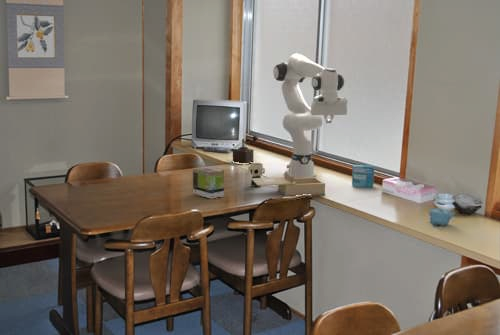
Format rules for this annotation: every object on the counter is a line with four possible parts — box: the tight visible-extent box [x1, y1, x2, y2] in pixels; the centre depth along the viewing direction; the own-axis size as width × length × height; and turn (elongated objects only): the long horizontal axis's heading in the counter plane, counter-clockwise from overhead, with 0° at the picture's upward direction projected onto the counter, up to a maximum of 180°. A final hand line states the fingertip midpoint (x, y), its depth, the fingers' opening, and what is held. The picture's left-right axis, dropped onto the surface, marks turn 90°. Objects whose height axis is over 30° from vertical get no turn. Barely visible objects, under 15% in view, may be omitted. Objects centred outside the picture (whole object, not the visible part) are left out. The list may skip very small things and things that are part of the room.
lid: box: [251, 171, 296, 187], centre depth 349 cm, size 15×21×4 cm
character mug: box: [247, 162, 266, 187], centre depth 367 cm, size 11×7×13 cm, turn 58°
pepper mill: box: [232, 135, 259, 163], centre depth 434 cm, size 16×11×18 cm
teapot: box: [428, 208, 456, 228], centre depth 295 cm, size 12×6×8 cm, turn 60°
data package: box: [351, 164, 375, 189], centre depth 369 cm, size 12×4×12 cm, turn 78°
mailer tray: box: [277, 176, 326, 198], centre depth 353 cm, size 15×22×6 cm
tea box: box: [192, 166, 225, 199], centre depth 344 cm, size 15×10×15 cm, turn 41°
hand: (328, 123), depth 357 cm, fingers closed
